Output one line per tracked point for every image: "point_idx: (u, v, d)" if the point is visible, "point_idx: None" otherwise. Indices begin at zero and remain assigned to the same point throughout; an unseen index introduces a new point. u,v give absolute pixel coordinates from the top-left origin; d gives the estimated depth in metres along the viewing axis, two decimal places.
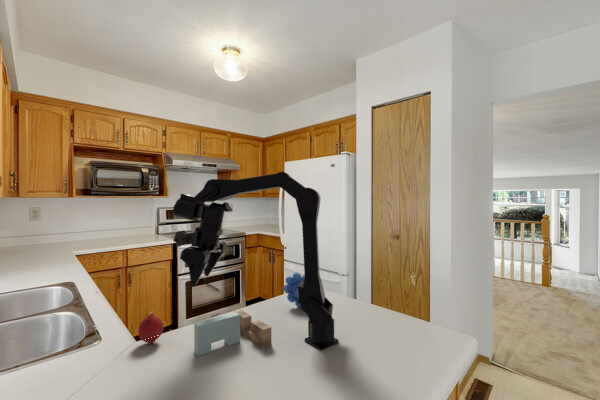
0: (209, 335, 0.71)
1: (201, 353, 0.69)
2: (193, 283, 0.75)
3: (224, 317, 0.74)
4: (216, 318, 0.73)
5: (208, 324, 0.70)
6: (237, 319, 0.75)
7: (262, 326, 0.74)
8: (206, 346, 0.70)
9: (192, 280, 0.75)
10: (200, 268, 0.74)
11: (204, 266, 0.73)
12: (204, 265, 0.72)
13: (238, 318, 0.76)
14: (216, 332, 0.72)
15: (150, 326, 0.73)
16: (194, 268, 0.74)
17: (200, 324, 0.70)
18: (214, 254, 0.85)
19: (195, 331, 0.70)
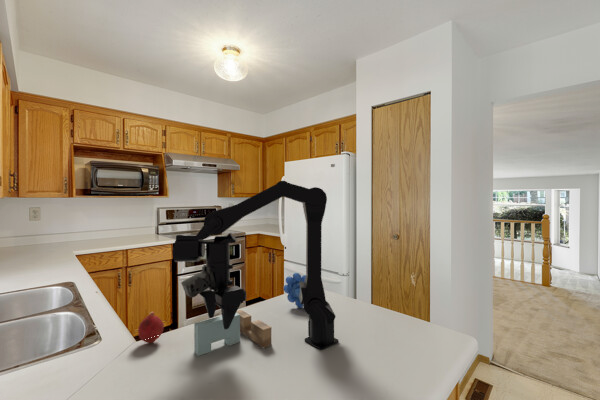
0: (209, 335, 0.71)
1: (201, 353, 0.69)
2: (227, 326, 0.69)
3: None
4: (216, 318, 0.73)
5: (208, 324, 0.70)
6: (237, 319, 0.75)
7: (262, 326, 0.74)
8: (206, 346, 0.70)
9: (226, 323, 0.69)
10: (235, 307, 0.69)
11: None
12: None
13: (238, 318, 0.76)
14: (216, 332, 0.72)
15: (150, 326, 0.73)
16: (227, 310, 0.69)
17: (200, 324, 0.70)
18: (213, 291, 0.78)
19: (195, 331, 0.70)
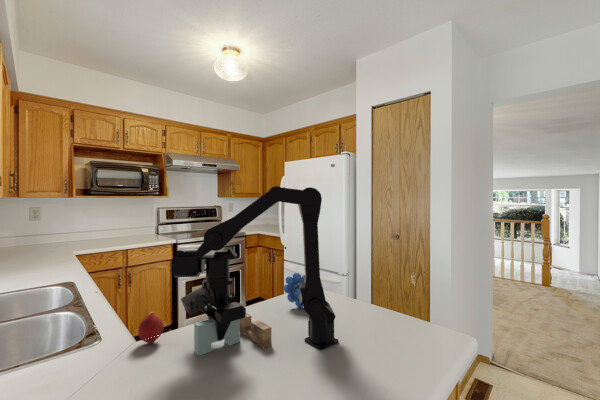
0: (209, 335, 0.71)
1: (201, 353, 0.69)
2: (221, 338, 0.72)
3: None
4: None
5: (208, 324, 0.70)
6: None
7: (262, 326, 0.74)
8: (206, 346, 0.70)
9: (220, 335, 0.71)
10: None
11: None
12: None
13: None
14: (216, 332, 0.72)
15: (150, 326, 0.73)
16: (221, 323, 0.71)
17: (200, 324, 0.70)
18: None
19: (195, 331, 0.70)
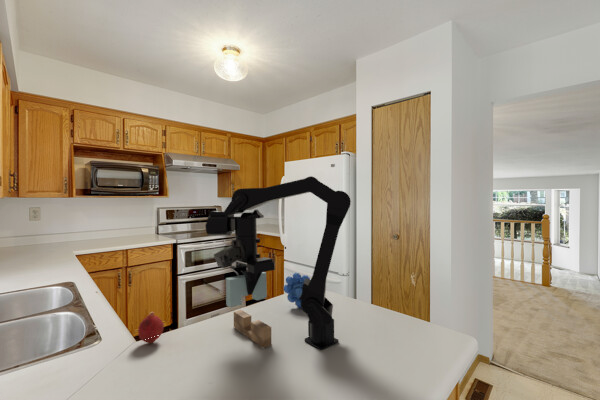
0: (240, 289, 0.76)
1: (233, 305, 0.74)
2: (251, 292, 0.77)
3: None
4: None
5: (239, 279, 0.76)
6: (264, 276, 0.81)
7: (262, 326, 0.74)
8: (237, 299, 0.75)
9: (250, 289, 0.77)
10: (258, 274, 0.77)
11: None
12: None
13: (264, 275, 0.81)
14: (246, 287, 0.77)
15: (150, 326, 0.73)
16: (251, 277, 0.76)
17: (231, 278, 0.75)
18: (246, 267, 0.81)
19: (227, 285, 0.75)
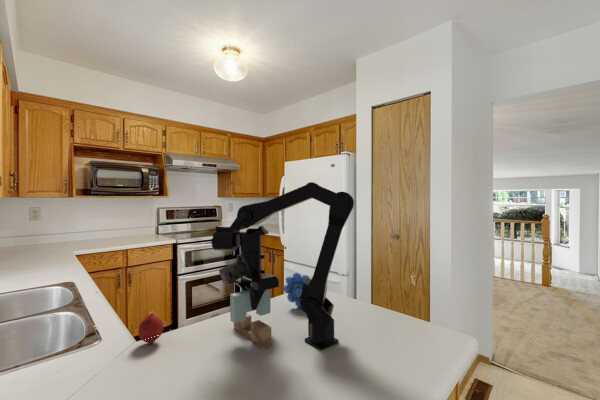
0: (244, 305, 0.77)
1: (237, 321, 0.75)
2: (255, 308, 0.78)
3: None
4: None
5: (243, 295, 0.76)
6: (268, 292, 0.81)
7: (262, 326, 0.74)
8: (241, 314, 0.76)
9: (254, 305, 0.78)
10: (262, 290, 0.78)
11: None
12: None
13: (269, 291, 0.82)
14: (250, 302, 0.78)
15: (150, 326, 0.73)
16: (255, 293, 0.77)
17: (236, 294, 0.76)
18: (251, 282, 0.81)
19: (231, 301, 0.76)
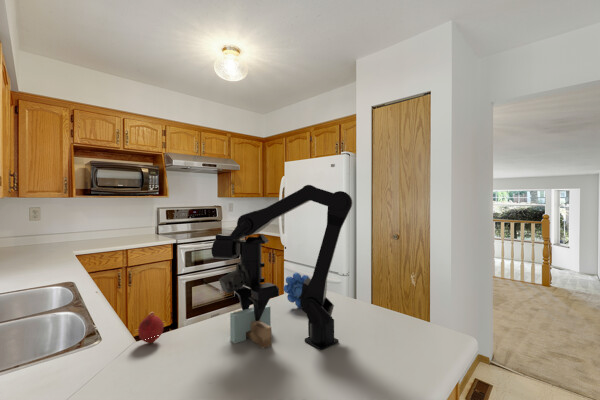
0: (244, 324, 0.76)
1: (237, 341, 0.75)
2: (258, 318, 0.77)
3: None
4: (249, 309, 0.79)
5: (243, 314, 0.76)
6: (268, 310, 0.81)
7: (262, 326, 0.74)
8: (241, 334, 0.76)
9: (257, 315, 0.76)
10: (266, 301, 0.76)
11: None
12: None
13: (269, 309, 0.81)
14: (250, 322, 0.78)
15: (150, 326, 0.73)
16: (259, 304, 0.76)
17: (236, 314, 0.76)
18: (247, 289, 0.83)
19: (231, 321, 0.76)
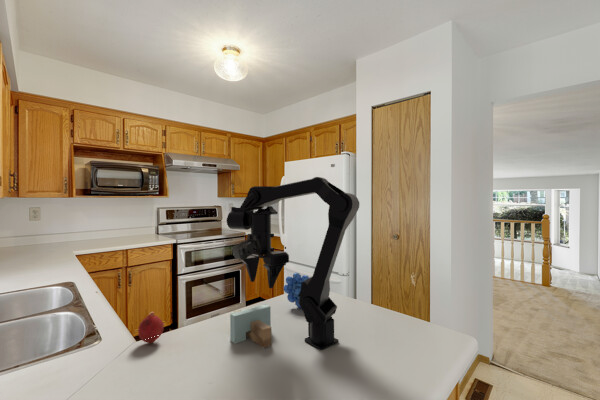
0: (244, 325, 0.76)
1: (237, 341, 0.75)
2: (271, 286, 0.80)
3: (256, 308, 0.80)
4: (249, 309, 0.79)
5: (243, 314, 0.76)
6: (268, 310, 0.81)
7: (262, 326, 0.74)
8: (241, 334, 0.76)
9: (271, 283, 0.79)
10: (279, 269, 0.80)
11: (283, 265, 0.80)
12: (285, 264, 0.80)
13: (269, 309, 0.81)
14: (250, 322, 0.78)
15: (150, 326, 0.73)
16: (272, 271, 0.79)
17: (236, 314, 0.76)
18: (254, 259, 0.88)
19: (231, 321, 0.76)
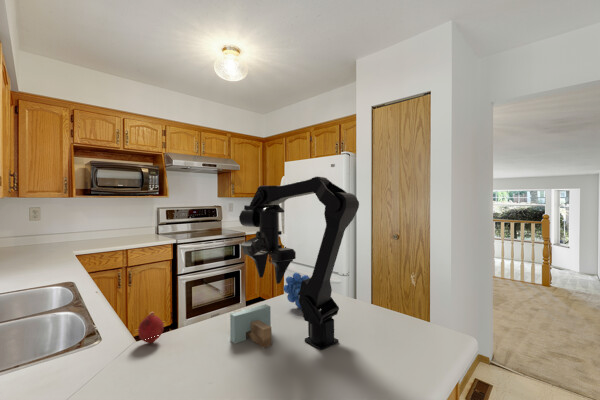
0: (244, 325, 0.76)
1: (237, 341, 0.75)
2: (279, 281, 0.83)
3: (256, 308, 0.80)
4: (249, 309, 0.79)
5: (243, 314, 0.76)
6: (268, 310, 0.81)
7: (262, 326, 0.74)
8: (241, 334, 0.76)
9: (279, 278, 0.83)
10: (286, 265, 0.83)
11: (290, 261, 0.83)
12: (292, 260, 0.83)
13: (269, 309, 0.81)
14: (250, 322, 0.78)
15: (150, 326, 0.73)
16: (280, 267, 0.82)
17: (236, 314, 0.76)
18: (263, 255, 0.91)
19: (231, 321, 0.76)
